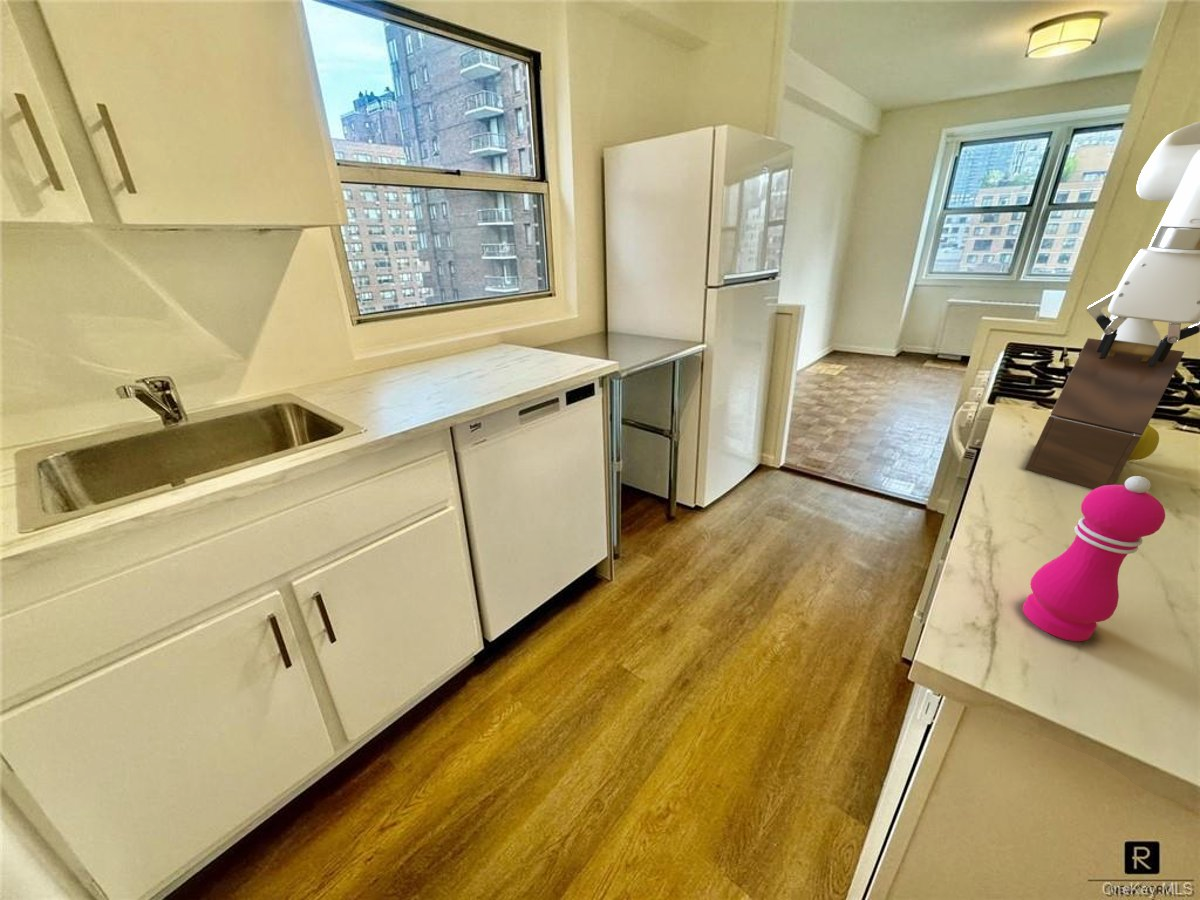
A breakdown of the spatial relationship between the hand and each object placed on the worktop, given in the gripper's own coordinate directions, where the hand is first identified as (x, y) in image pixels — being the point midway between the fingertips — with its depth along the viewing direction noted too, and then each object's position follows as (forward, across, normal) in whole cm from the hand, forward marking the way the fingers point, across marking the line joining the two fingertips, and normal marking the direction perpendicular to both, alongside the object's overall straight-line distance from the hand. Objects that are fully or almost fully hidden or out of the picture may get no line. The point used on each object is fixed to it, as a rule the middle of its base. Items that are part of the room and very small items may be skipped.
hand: (1126, 360), depth 79 cm
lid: (+5, 0, -1) cm, 5 cm away
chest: (+22, 0, -4) cm, 22 cm away
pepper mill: (+21, -4, +48) cm, 52 cm away
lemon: (+22, -7, -16) cm, 28 cm away
